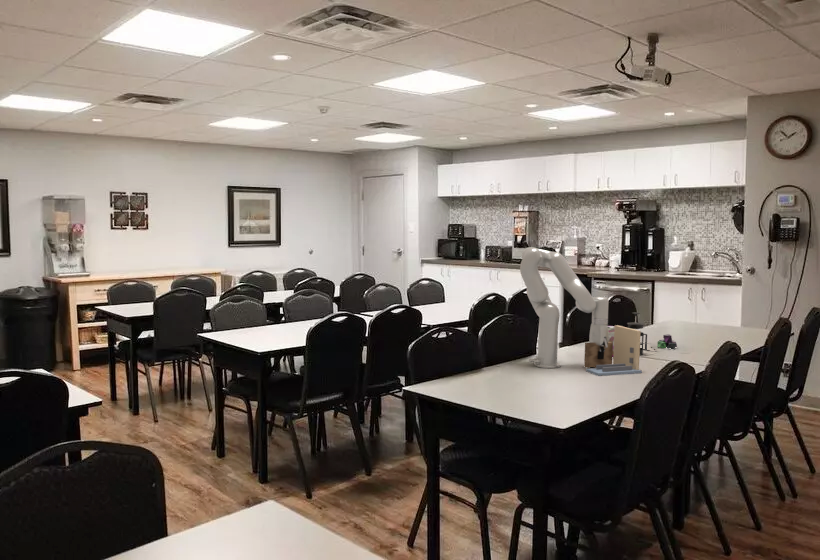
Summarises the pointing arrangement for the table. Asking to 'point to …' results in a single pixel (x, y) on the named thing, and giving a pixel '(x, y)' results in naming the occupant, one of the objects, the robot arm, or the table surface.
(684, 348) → the table surface
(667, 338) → the mineral sample
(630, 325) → the french press
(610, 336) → the candy bar box
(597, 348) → the door
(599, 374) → the cabinet side
